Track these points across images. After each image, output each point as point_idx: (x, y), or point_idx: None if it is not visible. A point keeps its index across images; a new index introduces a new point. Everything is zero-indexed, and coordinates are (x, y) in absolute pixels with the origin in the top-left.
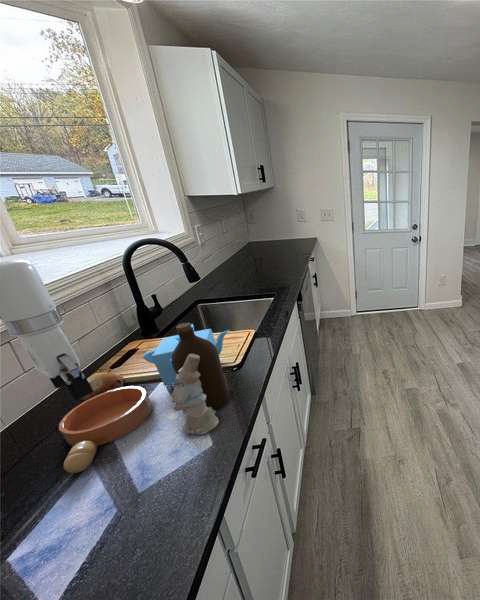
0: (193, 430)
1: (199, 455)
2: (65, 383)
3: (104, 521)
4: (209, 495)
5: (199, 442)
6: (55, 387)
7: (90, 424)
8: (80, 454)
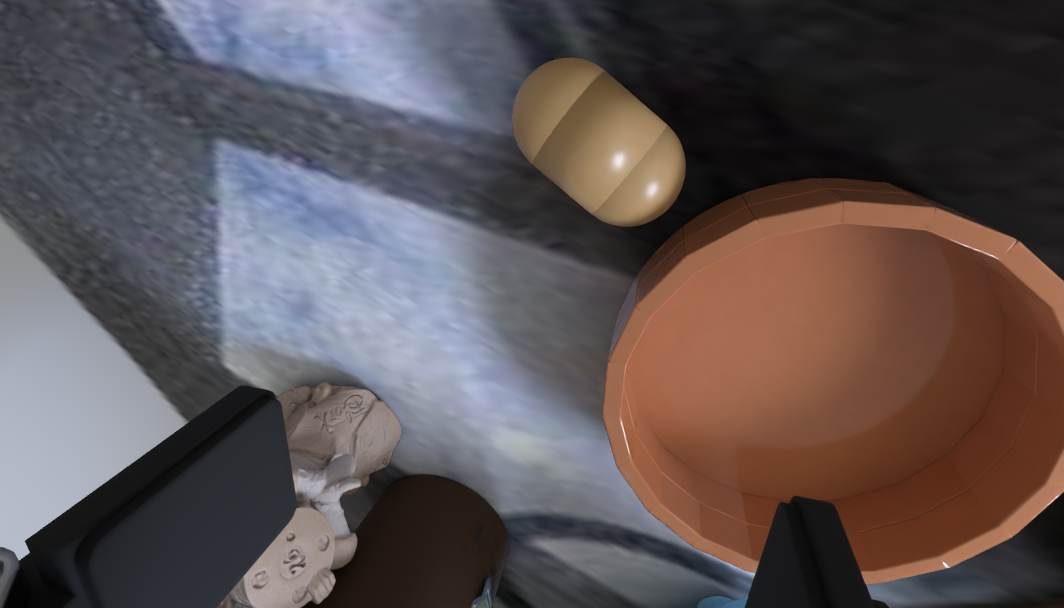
0: (292, 398)
1: (213, 320)
2: (762, 578)
3: (186, 8)
4: (37, 218)
5: (272, 363)
6: (814, 505)
7: (916, 316)
8: (530, 140)
